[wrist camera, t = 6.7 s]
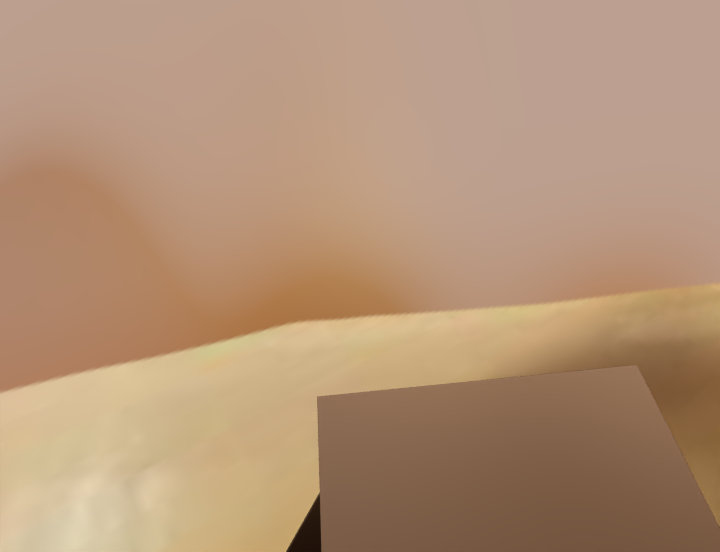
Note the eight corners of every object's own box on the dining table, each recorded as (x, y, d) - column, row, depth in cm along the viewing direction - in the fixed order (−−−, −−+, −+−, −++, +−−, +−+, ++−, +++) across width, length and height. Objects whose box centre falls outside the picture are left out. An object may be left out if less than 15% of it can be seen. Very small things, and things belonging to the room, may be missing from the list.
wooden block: (465, 579, 13) (1148, 1352, 2) (362, 591, 13) (349, 1534, 2) (438, 438, 15) (641, 364, 4) (351, 447, 15) (316, 396, 4)
